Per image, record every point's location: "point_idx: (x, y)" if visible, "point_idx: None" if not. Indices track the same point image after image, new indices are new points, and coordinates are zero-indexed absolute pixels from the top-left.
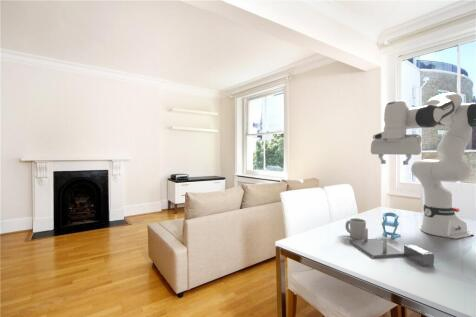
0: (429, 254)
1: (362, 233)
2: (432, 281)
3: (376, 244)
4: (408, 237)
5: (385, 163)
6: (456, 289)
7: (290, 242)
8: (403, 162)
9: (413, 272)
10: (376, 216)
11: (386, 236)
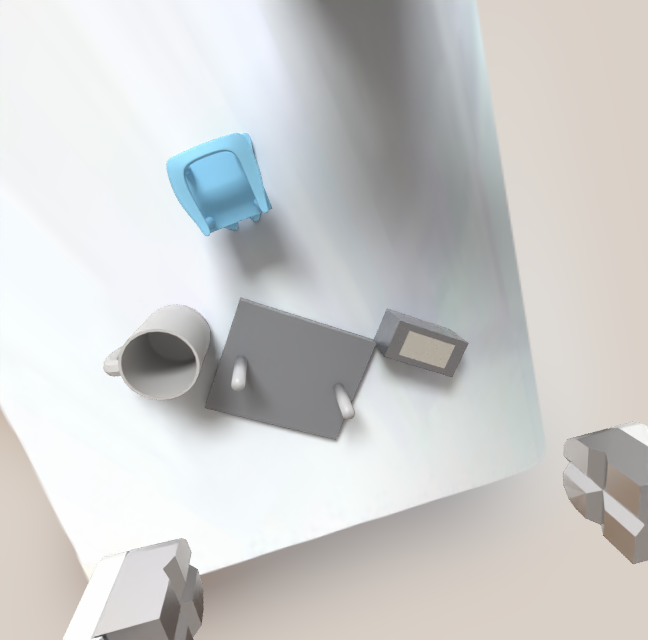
0: (460, 356)
1: (206, 352)
2: (475, 413)
3: (283, 356)
4: (277, 118)
5: (181, 538)
6: (515, 402)
7: None
8: (603, 528)
9: (433, 411)
10: None
11: (236, 226)
